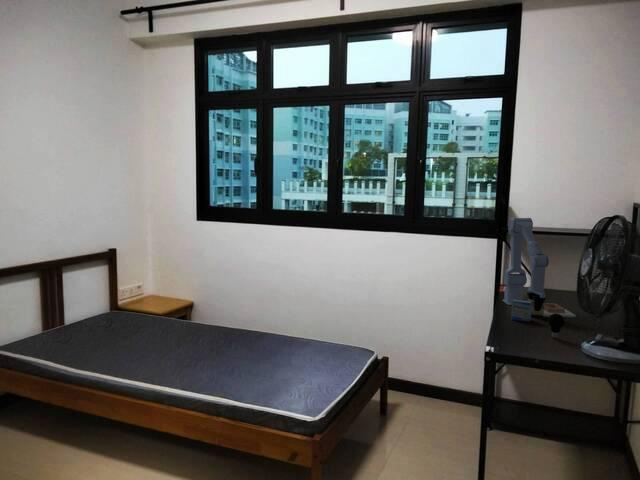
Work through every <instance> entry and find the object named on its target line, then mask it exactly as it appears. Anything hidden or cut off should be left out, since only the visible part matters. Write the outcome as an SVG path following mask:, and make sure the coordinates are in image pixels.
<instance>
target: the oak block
mask: <svg viewBox="0 0 640 480" xmlns="http://www.w3.org/2000/svg"><path fill="white" fill-rule="evenodd" d="M527 301H531V302H532V309H531V315H541V316H543V315H544V303H546V302H545V301H544V302H543V304H542V307H541V310H540V311H535V308H534V300H533V299H529V298H528V299H527Z"/></svg>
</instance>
